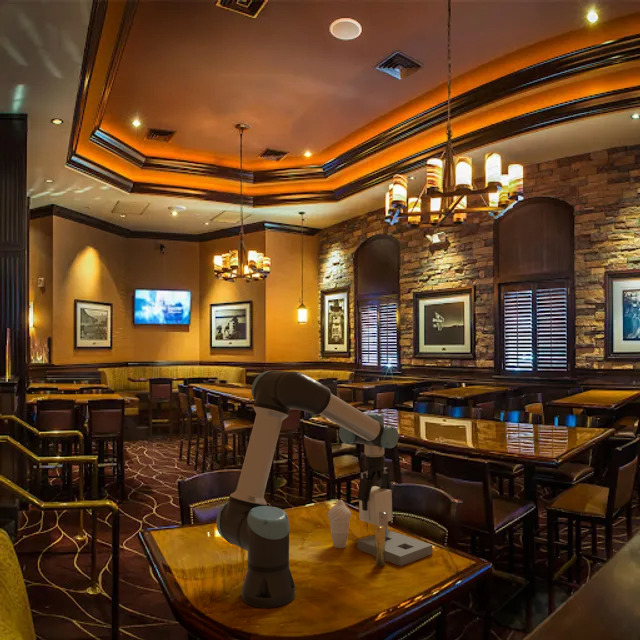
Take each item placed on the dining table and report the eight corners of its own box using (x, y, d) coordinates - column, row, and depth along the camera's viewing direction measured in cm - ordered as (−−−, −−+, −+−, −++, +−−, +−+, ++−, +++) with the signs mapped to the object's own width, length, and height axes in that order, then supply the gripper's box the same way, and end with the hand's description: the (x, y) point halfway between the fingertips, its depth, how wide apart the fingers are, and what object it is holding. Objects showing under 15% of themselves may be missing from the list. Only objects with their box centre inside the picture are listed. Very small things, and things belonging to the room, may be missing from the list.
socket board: (400, 566, 171) (400, 556, 172) (357, 548, 187) (357, 540, 187) (432, 553, 182) (432, 544, 182) (389, 538, 197) (389, 530, 197)
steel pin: (384, 549, 186) (383, 514, 187) (377, 547, 188) (377, 512, 189) (389, 547, 188) (389, 512, 189) (383, 545, 190) (383, 510, 191)
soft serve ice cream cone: (342, 552, 184) (342, 504, 185) (323, 547, 189) (322, 500, 190) (356, 545, 190) (355, 499, 191) (336, 540, 195) (336, 495, 196)
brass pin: (380, 567, 171) (380, 528, 171) (373, 564, 173) (373, 526, 174) (387, 564, 173) (386, 526, 173) (380, 562, 175) (379, 524, 176)
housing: (375, 525, 194) (375, 494, 195) (359, 519, 201) (359, 489, 201) (392, 520, 199) (391, 490, 200) (375, 514, 206) (375, 485, 207)
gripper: (360, 460, 192) (362, 525, 190) (401, 452, 205) (402, 512, 204) (346, 457, 197) (347, 520, 196) (386, 450, 211) (388, 508, 210)
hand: (375, 516), depth 200 cm, fingers closed on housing, 9 cm apart
